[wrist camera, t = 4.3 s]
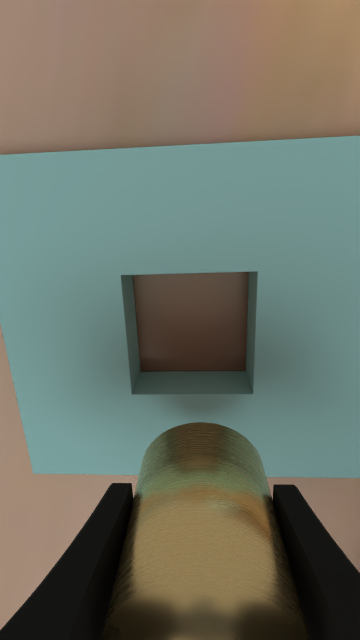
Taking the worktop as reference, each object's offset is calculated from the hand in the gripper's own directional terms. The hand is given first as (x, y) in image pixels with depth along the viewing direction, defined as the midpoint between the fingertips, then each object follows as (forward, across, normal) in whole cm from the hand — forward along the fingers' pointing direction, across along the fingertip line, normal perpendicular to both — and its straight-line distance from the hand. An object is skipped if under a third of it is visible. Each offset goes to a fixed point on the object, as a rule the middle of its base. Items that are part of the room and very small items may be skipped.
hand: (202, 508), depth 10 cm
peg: (+1, 0, 0) cm, 1 cm away
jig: (+8, 0, -4) cm, 9 cm away
